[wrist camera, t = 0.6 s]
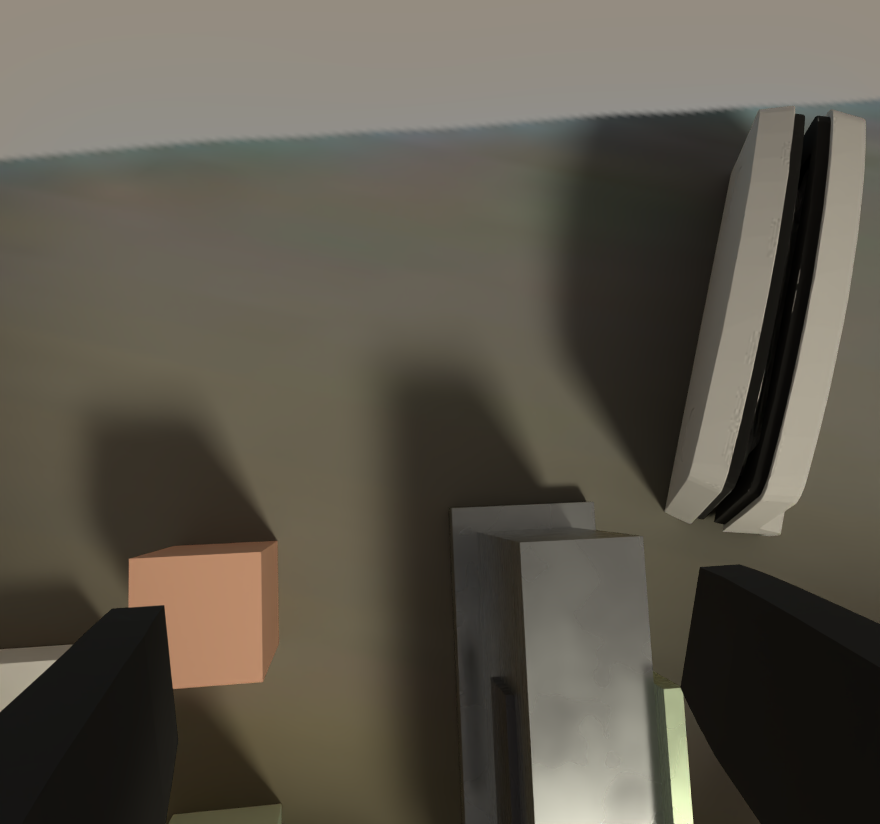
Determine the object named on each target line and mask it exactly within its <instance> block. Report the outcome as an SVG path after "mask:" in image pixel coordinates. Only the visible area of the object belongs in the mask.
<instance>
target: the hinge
mask: <svg viewBox="0 0 880 824" xmlns="http://www.w3.org/2000/svg"><path fill="white" fill-rule="evenodd" d="M804 124H805V116H804V115H802V114H795V107H794V106H787V107H778V108H770V109H761V110H759V111H758V113H757V115H756V117H755V120H754V122H753V124H752V127H751V129H750V131H749V133H748V136H747V138H746V140H745V143H744V145H743V147H742V150H741V152H740V154H739V156H738V159H737V161H736V163H735V166H734V168H733V170H732V172H731V176H730V181H729V186H728V191H727V196H726V201H725V206H724V211H723V216H722V221H721V227H720V232H719V237H718V242H717V247H716V252H715V257H714V262H713V267H712V272H711V277H710V283H709V288H708V293H707V298H706V303H705V308H704V313H703V318H702V323H701V328H700V333H699V339H698V344H697V349H696V354H695V359H694V364H693V369H692V374H691V379H690V384H689V389H688V395H687V400H686V405H685V410H684V415H683V420H682V425H681V430H680V435H679V440H678V446H677V451H676V456H675V461H674V466H673V471H672V476H671V481H670V486H669V491H668V496H667V502H666V507H665V512H666V513H668V514H669V515H671V516H673V517H675V518H678V519H680V520H682V521H684V522H686V523H689V524H691V523H692V522H693V521H694V520H695V519H696V518H699V519H704V518H705V517H706V516H707V515H708V514H709V513H710V512H711V511H712V510H713V509H714V508H715V507H716V506H717V510H716V515H715V521H714V522H717V523H721V524H724V525H723V530H722V532H737V533H754V534H760V535H761V536H776V535H780V534H781V529H782V523H783V518H784V512H785V511H786V510H787V509H789V508H790V507H792V506H793V505H795V504H796V503H797V501H798V500H799V498H800V497H801V495H802V492H803V490H804V487H805V485H806V481H807V477H808V473H809V470H810V466H811V462H812V458H813V455H814V451H815V447H816V443H817V440H818V436H819V432H820V428H821V424H822V419H823V415H824V411H825V407H826V403H827V399H828V395H829V390H830V385H831V381H832V376H833V371H834V367H835V362H836V357H837V352H838V348H839V343H840V338H841V334H842V329H843V324H844V318H845V313H846V308H847V302H848V297H849V290H850V284H851V277H852V270H853V264H854V257H855V251H856V244H857V238H858V230H859V220H860V211H861V201H862V191H863V182H864V168H865V146H866V122H865V119H863V118H860V117H856V116H853V115H849V114H846V113H842V112H839V111H835V110H830V111H829V112H828V113H827V115H826V116H825V117H824V116H816V117H815V118H814V120H813V122H812V123H811V125H810V127H809V128H808V130H807V131H806V133H805V135H804Z"/></svg>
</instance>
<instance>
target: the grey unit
mask: <svg viewBox="0 0 880 824" xmlns="http://www.w3.org/2000/svg"><path fill="white" fill-rule="evenodd" d="M449 525H450V549H451V572H452V596H453V619H454V642H455V666H456V689H457V713H458V736H459V759H460V783H461V806H462V824H693V814H692V801H691V788H690V776H689V763H688V750H687V737H686V724H685V711H684V699H683V692H682V690H681V687H680V686H679V685H677V684H675V683H673V682H671V681H670V680H668V679H666V678H664V677H662V676H661V675H659V674H657V673H655V672H653V667H652V653H651V640H650V626H649V613H648V599H647V585H646V572H645V558H644V545H643V536H638V535H630V534H622V533H614V532H606V531H598V530H595V515H594V502H570V503H547V504H525V505H503V506H481V507H458V508H449Z"/></svg>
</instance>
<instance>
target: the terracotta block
mask: <svg viewBox="0 0 880 824" xmlns="http://www.w3.org/2000/svg"><path fill="white" fill-rule="evenodd" d="M158 605H164V607H165V617H166V627H167V636H168V646H169V656H170V666H171V676H172V685H173V689H178V688H191V687H204V686H217V685H230V684H243V683H256V682H263V680H264V678H265V675H266V673H267V671H268V668H269V666H270V663H271V661H272V659H273V656H274V654H275V652H276V649H277V647H278V644H279V611H278V545H277V541H262V542H242V543H222V544H202V545H182V546H172V547H168V548H165V549H161V550H158V551H154V552H151V553H147V554H144V555H140V556H137V557H134V558H130V559H129V608H130V607H144V606H158Z"/></svg>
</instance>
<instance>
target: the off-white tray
mask: <svg viewBox="0 0 880 824" xmlns="http://www.w3.org/2000/svg"><path fill="white" fill-rule="evenodd" d="M72 645H73V644H71V645H56V646H41V647H27V648H12V649H0V712H1V711H2V710H3V709H4V708H5V707H6V706H7V705H8V704H9V703H11V702H12V701H13V700H14V699H15V698H16V697H17V696H18V695H19V694H20V693H22V692H23V691H24V690H25V689H26V688H27V687H28V686H29V685H30V684H31V683H32V682H34V681H35V680H36V679H37V678H38V677H39V676H40V675H41V674H42V673H43V672H45V671H46V670H47V669H48V668H49V667H50V666H51V665H52V664H53V663H54V662H55V661H56V660H57V659H58V658H60V657H61V656H62V655H63V654H64V653H65V652H66V651H67V650H68V649H69V648H70V647H71V646H72Z"/></svg>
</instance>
